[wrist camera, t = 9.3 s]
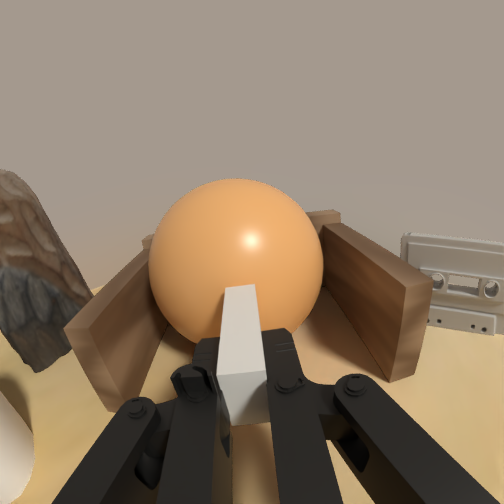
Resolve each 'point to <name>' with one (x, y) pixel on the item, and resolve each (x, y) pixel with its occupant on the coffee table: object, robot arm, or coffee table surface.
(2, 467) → the teardrop
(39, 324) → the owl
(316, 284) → the ball
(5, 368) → the coffee table surface
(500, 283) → the cassette
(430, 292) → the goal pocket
